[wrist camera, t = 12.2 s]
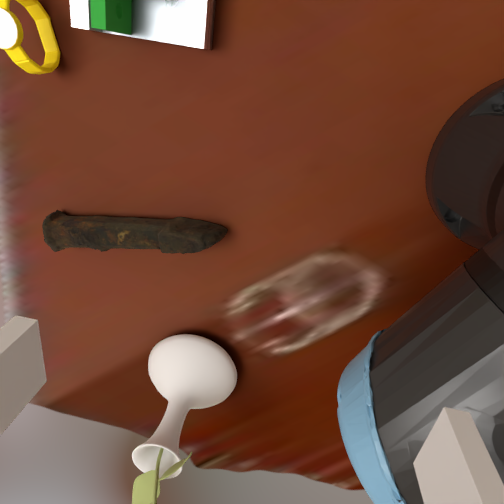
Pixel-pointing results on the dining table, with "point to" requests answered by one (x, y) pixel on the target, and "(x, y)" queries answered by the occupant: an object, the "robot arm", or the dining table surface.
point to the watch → (11, 35)
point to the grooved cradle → (160, 21)
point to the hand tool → (130, 233)
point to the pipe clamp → (111, 15)
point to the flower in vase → (179, 403)
